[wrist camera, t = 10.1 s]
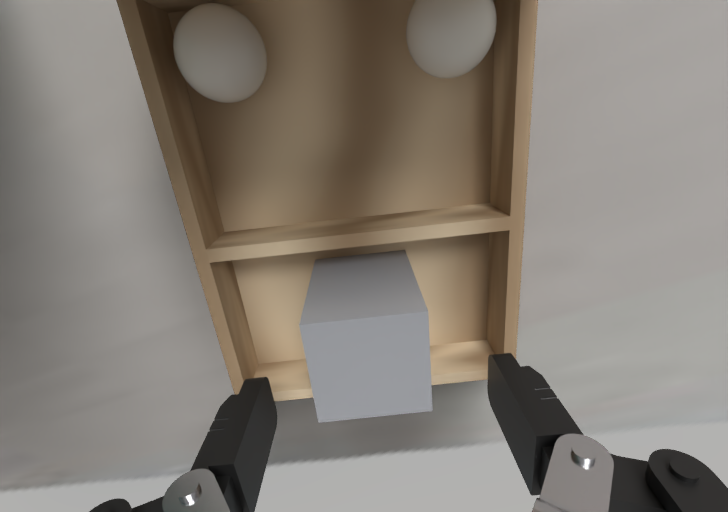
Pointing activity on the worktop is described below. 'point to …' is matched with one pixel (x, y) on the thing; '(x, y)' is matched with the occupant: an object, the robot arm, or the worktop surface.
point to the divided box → (347, 175)
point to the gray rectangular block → (366, 337)
